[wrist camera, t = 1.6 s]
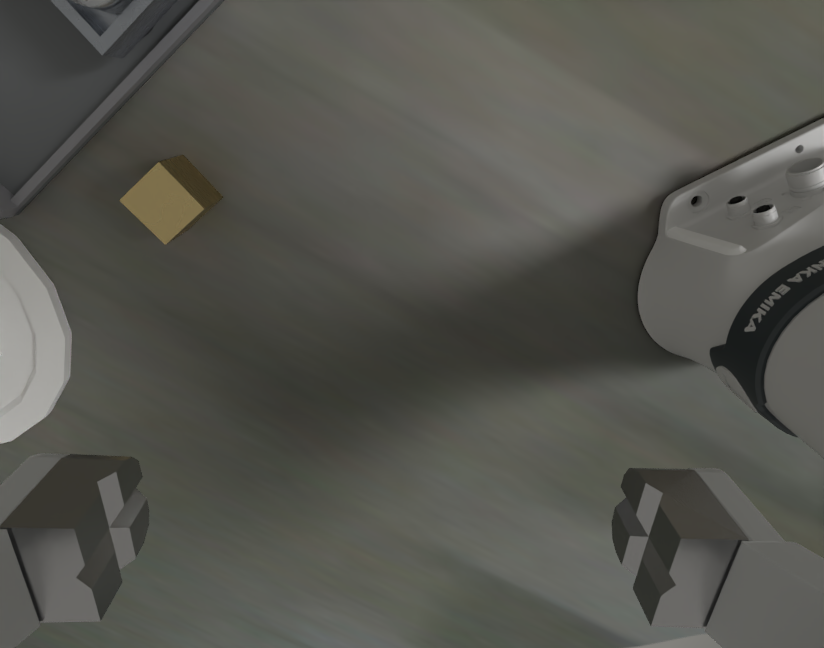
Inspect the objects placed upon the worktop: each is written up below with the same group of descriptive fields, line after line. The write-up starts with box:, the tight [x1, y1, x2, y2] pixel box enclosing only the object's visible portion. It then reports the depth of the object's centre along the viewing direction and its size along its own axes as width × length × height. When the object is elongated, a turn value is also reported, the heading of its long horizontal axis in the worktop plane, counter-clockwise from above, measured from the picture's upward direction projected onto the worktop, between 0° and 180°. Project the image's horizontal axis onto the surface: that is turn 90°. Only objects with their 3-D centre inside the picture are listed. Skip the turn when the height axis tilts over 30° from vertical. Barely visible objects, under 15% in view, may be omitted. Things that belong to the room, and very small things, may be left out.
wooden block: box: [119, 155, 223, 245], centre depth 38 cm, size 4×4×4 cm
